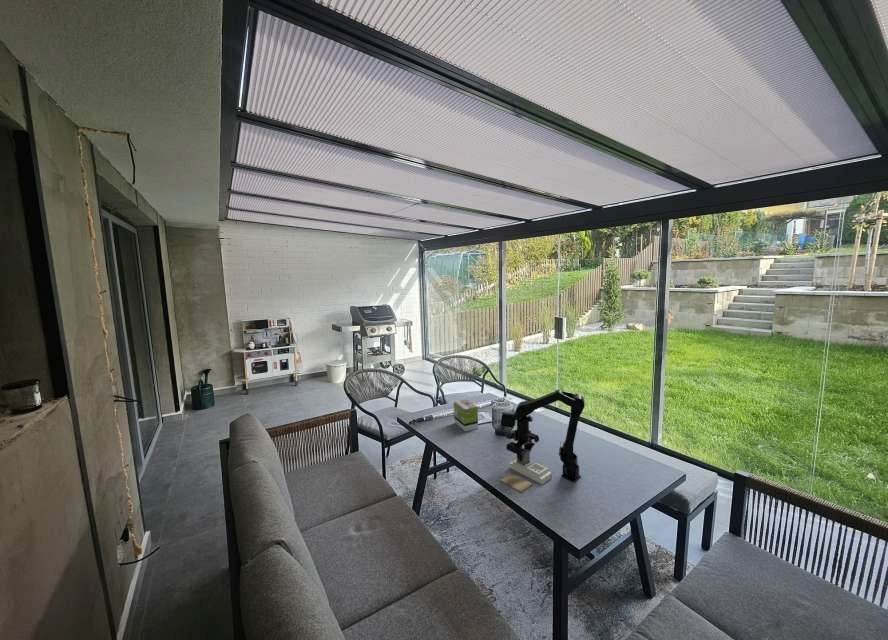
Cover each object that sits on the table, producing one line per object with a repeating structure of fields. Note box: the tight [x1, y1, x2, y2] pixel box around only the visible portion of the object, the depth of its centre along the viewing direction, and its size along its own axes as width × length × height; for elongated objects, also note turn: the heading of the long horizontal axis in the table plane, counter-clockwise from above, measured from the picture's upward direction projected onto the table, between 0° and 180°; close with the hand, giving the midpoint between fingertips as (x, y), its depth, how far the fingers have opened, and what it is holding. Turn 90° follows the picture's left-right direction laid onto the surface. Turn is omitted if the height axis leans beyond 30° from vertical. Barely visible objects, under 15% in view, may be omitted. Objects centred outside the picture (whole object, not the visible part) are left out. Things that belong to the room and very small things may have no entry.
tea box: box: [453, 399, 479, 432], centre depth 218 cm, size 15×10×15 cm
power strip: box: [509, 457, 553, 485], centre depth 164 cm, size 19×8×4 cm, turn 39°
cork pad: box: [500, 472, 534, 494], centre depth 156 cm, size 12×8×1 cm, turn 39°
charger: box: [516, 446, 531, 465], centre depth 166 cm, size 4×4×7 cm
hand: (523, 459), depth 166 cm, fingers closed on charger, 4 cm apart
